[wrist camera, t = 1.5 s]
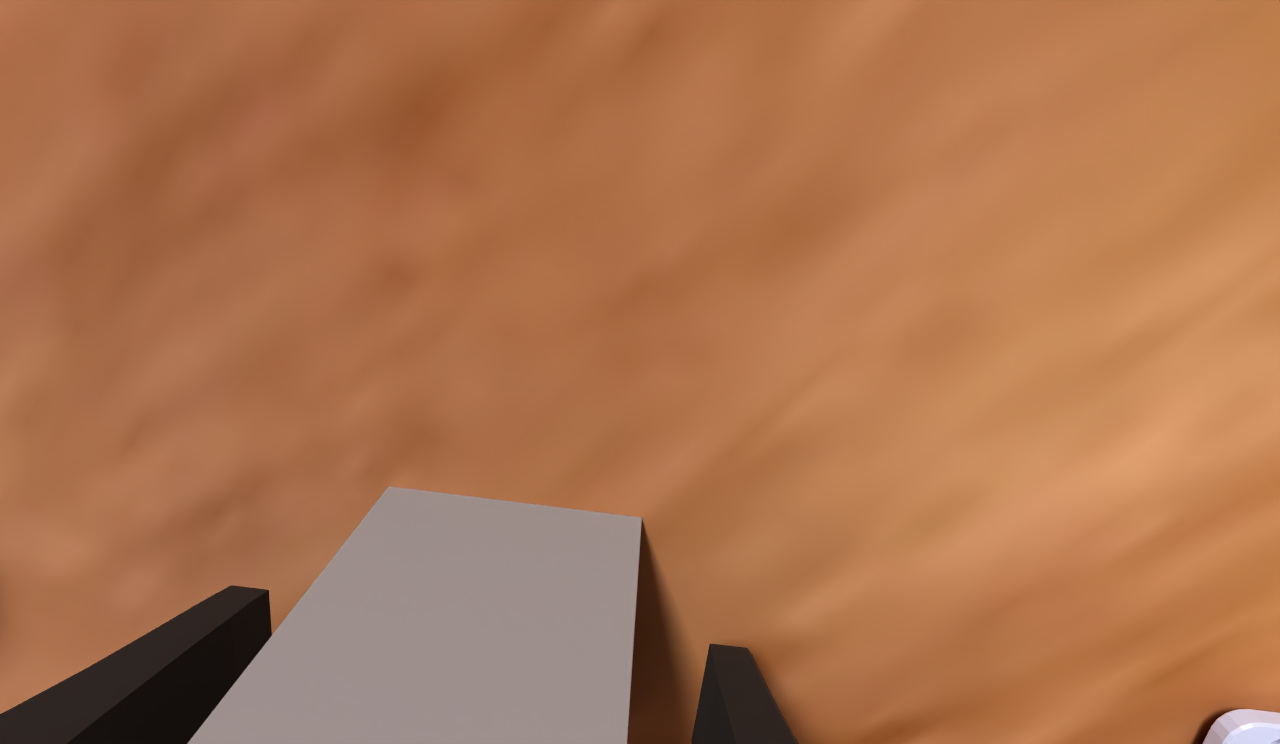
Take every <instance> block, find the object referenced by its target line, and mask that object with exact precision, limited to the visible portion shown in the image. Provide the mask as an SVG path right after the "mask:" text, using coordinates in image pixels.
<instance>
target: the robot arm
mask: <svg viewBox="0 0 1280 744" xmlns="http://www.w3.org/2000/svg"><path fill="white" fill-rule="evenodd" d="M271 636H272V632H271V617H270V603H269V590H264V589H256V588H248V587H240V586H230V587H228V588H226V589H224V590H222V591H220V592H218V593H216V594H215V595H213V596H211V597H209V598H207V599H206V600H204V601H202V602H200V603H199V604H197V605H195V606H193V607H192V608H190V609H188V610H187V611H185V612H183V613H181V614H180V615H178V616H176V617H175V618H173V619H171V620H170V621H168V622H166V623H164V624H163V625H161V626H159V627H158V628H156V629H154V630H152V631H151V632H149V633H147V634H146V635H144V636H142V637H140V638H139V639H137V640H135V641H133V642H132V643H130V644H128V645H126V646H125V647H123V648H121V649H120V650H118V651H116V652H114V653H113V654H111V655H109V656H107V657H106V658H104V659H102V660H100V661H99V662H97V663H95V664H93V665H92V666H90V667H88V668H86V669H84V670H83V671H81V672H79V673H77V674H75V675H73V676H71V677H69V678H68V679H66V680H64V681H62V682H60V683H58V684H56V685H55V686H53V687H51V688H49V689H47V690H45V691H43V692H41V693H40V694H38V695H36V696H34V697H32V698H30V699H28V700H27V701H25V702H23V703H21V704H19V705H17V706H15V707H13V708H12V709H10V710H8V711H6V712H4V713H2V714H0V744H187V743H188V742H189V741H190V740H191V738H192V737H193V736H194V734H195V733H196V732H197V731H198V729H199V728H200V727H201V726H202V724H203V723H204V722H205V720H206V719H207V718H208V717H209V715H210V714H211V713H212V711H213V710H214V709H215V708H216V706H217V705H218V704H219V703H220V701H221V700H222V699H223V697H224V696H225V695H226V694H227V692H228V691H229V690H230V688H231V687H232V686H233V685H234V683H235V682H236V681H237V680H238V678H239V677H240V676H241V674H242V673H243V672H244V671H245V669H246V668H247V667H248V665H249V664H250V663H251V662H252V660H253V659H254V658H255V657H256V655H257V654H258V653H259V651H260V650H261V649H262V648H263V646H264V645H265V644H266V642H267V641H268V640H269V639H270V637H271ZM692 744H799V743H798V742H797V740H796V738H795V736H794V735H793V733H792V731H791V729H790V728H789V726H788V724H787V722H786V721H785V719H784V717H783V715H782V713H781V711H780V709H779V708H778V706H777V704H776V702H775V700H774V698H773V696H772V694H771V692H770V690H769V688H768V686H767V684H766V682H765V680H764V678H763V676H762V674H761V672H760V670H759V668H758V666H757V664H756V662H755V660H754V657H753V655H752V654H751V653H750V651H749V650H748V649H747V648H742V647H734V646H725V645H717V644H710V645H709V650H708V656H707V661H706V667H705V672H704V677H703V683H702V688H701V693H700V699H699V704H698V709H697V715H696V720H695V725H694V731H693V736H692ZM1203 744H1280V713H1276V712H1268V711H1260V710H1252V709H1236V710H1233V711H1230V712H1226V713H1225V714H1223V715H1222V716H1220V717H1218V718H1217V719H1216V721H1215V722H1214V723H1213V724H1212V726H1211V728H1210V730H1209V732H1208V734H1207V736H1206V738H1205V740H1204V742H1203Z"/></svg>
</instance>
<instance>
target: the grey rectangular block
mask: <svg viewBox="0 0 1280 744" xmlns="http://www.w3.org/2000/svg"><path fill="white" fill-rule="evenodd" d="M641 522H642V518H641V517H633V516H625V515H617V514H609V513H601V512H593V511H585V510H576V509H568V508H560V507H552V506H544V505H536V504H528V503H520V502H512V501H504V500H496V499H487V498H479V497H471V496H463V495H455V494H447V493H439V492H431V491H423V490H415V489H407V488H398V487H390V486H389V487H388V488H387V489H386V490H385V492H384V493H383V494H382V496H381V497H380V498H379V499H378V501H377V502H376V503H375V504H374V506H373V507H372V508H371V510H370V511H369V512H368V513H367V515H366V516H365V517H364V519H363V520H362V521H361V522H360V524H359V525H358V526H357V527H356V529H355V530H354V531H353V533H352V534H351V535H350V536H349V538H348V539H347V540H346V542H345V543H344V544H343V545H342V547H341V548H340V549H339V550H338V552H337V553H336V554H335V556H334V557H333V558H332V559H331V561H330V562H329V563H328V565H327V566H326V567H325V568H324V570H323V571H322V572H321V573H320V575H319V576H318V577H317V579H316V580H315V581H314V582H313V584H312V585H311V586H310V588H309V589H308V590H307V591H306V593H305V594H304V595H303V596H302V598H301V599H300V600H299V602H298V603H297V604H296V605H295V607H294V608H293V609H292V611H291V612H290V613H289V614H288V616H287V617H286V618H285V619H284V621H283V622H282V623H281V625H280V626H279V627H278V628H277V630H276V631H275V632H274V634H273V635H272V636H271V637H270V639H269V640H268V641H267V642H266V644H265V645H264V646H263V648H262V649H261V650H260V651H259V653H258V654H257V655H256V657H255V658H254V659H253V660H252V662H251V663H250V664H249V665H248V667H247V668H246V669H245V671H244V672H243V673H242V674H241V676H240V677H239V678H238V680H237V681H236V682H235V683H234V685H233V686H232V687H231V688H230V690H229V691H228V692H227V694H226V695H225V696H224V697H223V699H222V700H221V701H220V703H219V704H218V705H217V706H216V708H215V709H214V710H213V711H212V713H211V714H210V715H209V717H208V718H207V719H206V720H205V722H204V723H203V724H202V726H201V727H200V728H199V729H198V731H197V732H196V733H195V734H194V736H193V737H192V738H191V740H190V741H189V742H188V743H187V744H627V735H628V719H629V704H630V689H631V674H632V659H633V643H634V628H635V613H636V598H637V583H638V567H639V552H640V537H641Z"/></svg>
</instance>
